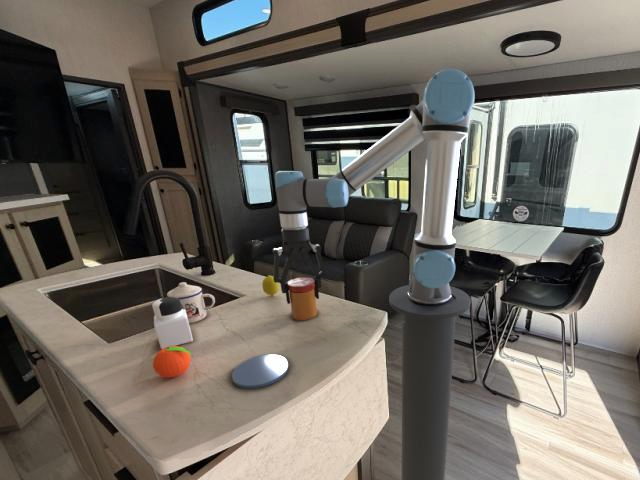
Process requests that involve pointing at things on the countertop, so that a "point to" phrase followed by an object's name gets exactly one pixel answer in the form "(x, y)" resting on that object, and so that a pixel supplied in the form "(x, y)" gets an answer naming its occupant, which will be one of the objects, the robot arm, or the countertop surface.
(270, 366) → the saucer
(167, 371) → the clementine
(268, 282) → the lemon
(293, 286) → the lid
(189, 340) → the medicine bottle
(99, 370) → the countertop surface
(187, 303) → the teacup with lid
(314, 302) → the jar
